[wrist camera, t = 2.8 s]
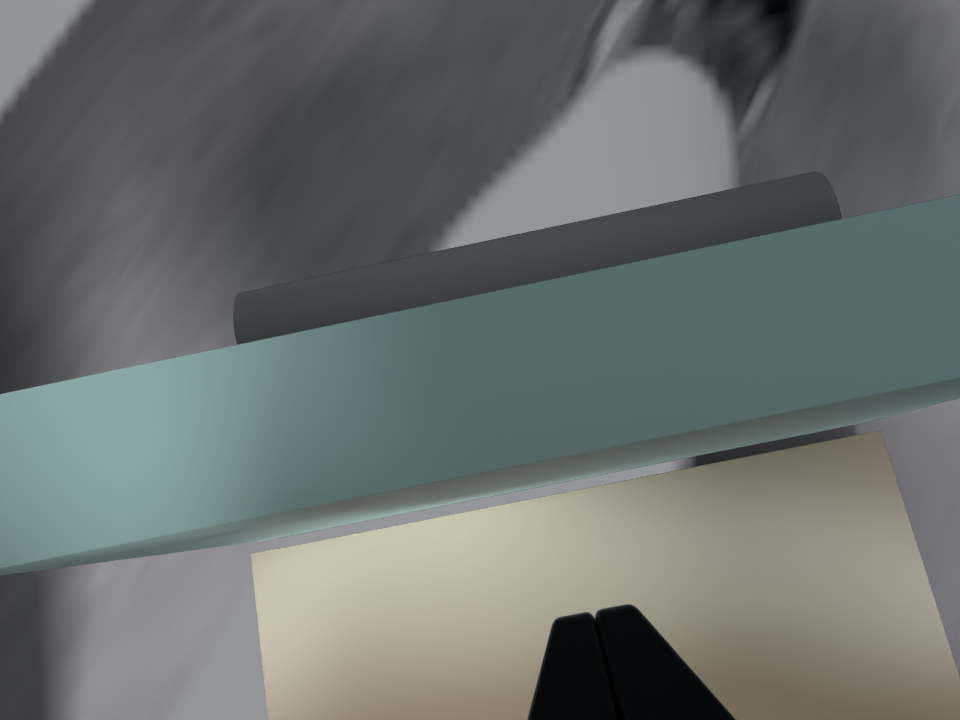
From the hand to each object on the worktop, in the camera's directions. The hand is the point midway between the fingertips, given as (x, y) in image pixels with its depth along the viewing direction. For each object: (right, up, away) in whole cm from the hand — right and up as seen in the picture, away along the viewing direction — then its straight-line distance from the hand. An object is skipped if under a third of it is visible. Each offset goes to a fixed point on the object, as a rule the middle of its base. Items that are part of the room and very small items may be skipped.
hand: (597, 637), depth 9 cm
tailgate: (0, +2, +8) cm, 9 cm away
